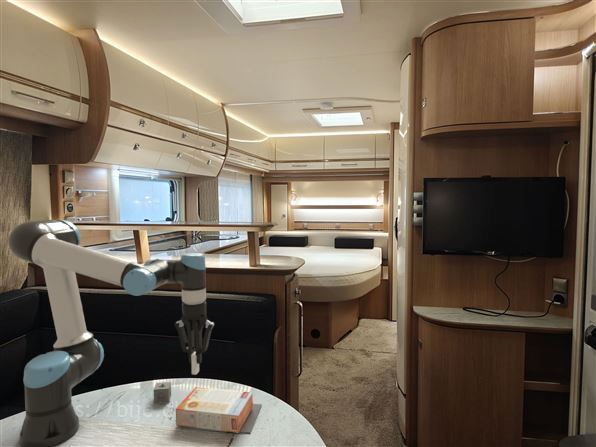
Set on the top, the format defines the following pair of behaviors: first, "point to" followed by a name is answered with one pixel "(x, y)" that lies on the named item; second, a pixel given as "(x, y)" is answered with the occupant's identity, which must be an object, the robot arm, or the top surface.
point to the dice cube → (162, 392)
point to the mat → (247, 424)
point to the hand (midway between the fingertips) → (195, 372)
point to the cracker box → (215, 409)
